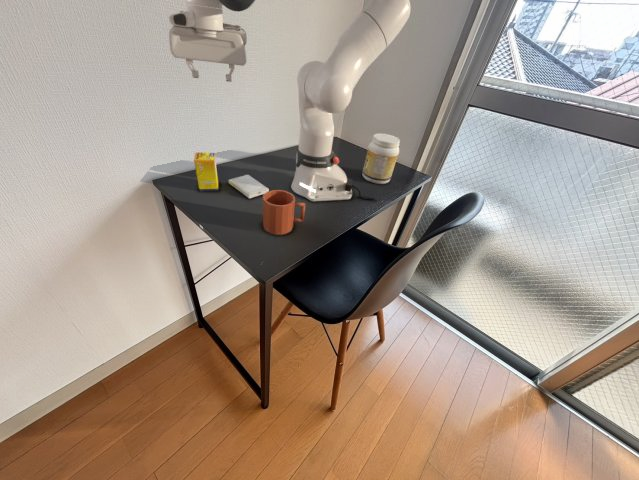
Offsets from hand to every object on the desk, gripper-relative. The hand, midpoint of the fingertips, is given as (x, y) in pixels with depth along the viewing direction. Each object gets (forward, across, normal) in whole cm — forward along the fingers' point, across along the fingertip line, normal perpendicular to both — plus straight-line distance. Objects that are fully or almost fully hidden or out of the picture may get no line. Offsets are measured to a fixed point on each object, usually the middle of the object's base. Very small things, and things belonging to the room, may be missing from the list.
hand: (212, 79), depth 82 cm
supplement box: (+31, +3, +10) cm, 33 cm away
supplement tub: (+31, -61, -4) cm, 69 cm away
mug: (+31, -21, +32) cm, 49 cm away
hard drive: (+31, -10, +10) cm, 34 cm away
